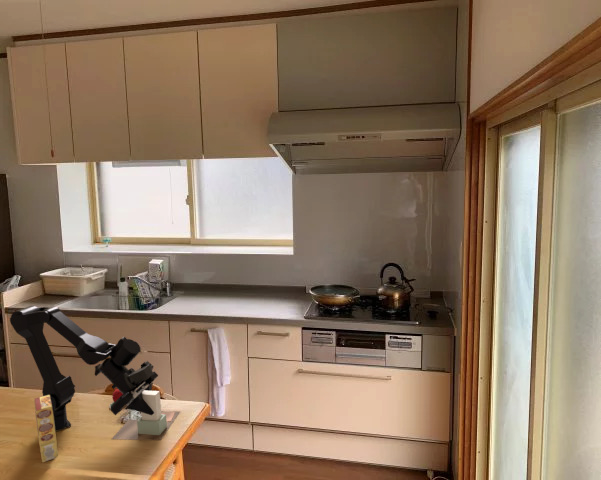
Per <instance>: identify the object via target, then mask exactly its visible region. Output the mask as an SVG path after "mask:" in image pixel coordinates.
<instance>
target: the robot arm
mask: <svg viewBox="0 0 601 480" xmlns="http://www.w3.org/2000/svg"><path fill="white" fill-rule="evenodd" d="M9 322H10V324H11V326H12V328H13V329H14V331H15V333H16V334H18V335H19V336H21V337H22V338H23V339H24V340H25V341H26V344H27V346H28V348H29V351H30V353H31V356H32V357H33V360H34V363H35V364H36V368H37V369H38V371H39V374H40V376H41V378H42V381H43V383H42V391H41V393H42V397H43V396H47V395H50V398H51V403H52V409H53V416H54V424H55V433H56V432H59V431H61V430H63V429H64V430H65V429H66V428H69V427H71V426H72V423H71V421H69V419H68V415H67V405H68V404H69V403H71V402H72V399H73V397H74V395H75V393H76V385H75V384H74V382H73V379H72V377H71V376H70V375H68V376H65V375H64V374H62V372H61V371H60V369H59V367H58V363H57V362H56V359H55V357H54V355H53V353H52V350H51V347H50V345H49V343H48V340H47V339H46V336H45V333H44V326H45V325H44V324H47V325H48V326H49V327H51V328H52V329H53V330H54V331H55V332H57V333H58V334H59V335H61V337H63V338H64V339H65V340H66V341H68V342H69V343H70V344H71V345H72V346H74V347H75V350H76V352H77V355H78V356H79V357H80V359H81V360H83V362H84V363H85V364H87V365H89V366H94V365H95V366H94V377H97V376H98V375H100V374H103V376H105V378H107V380H108V381H109V382H110V383H111V384H112V385H111V388H112V389H113V390H114V389H118V390H119V391H120V392H121V393H122V394H123V395H121V396H120V397H119V398H118V399H117V400H116V401H115V402H114V401H113V402H114V404H113V405H112V406H111V409H110V411H111V413H112V414H113V415H114V416H117V415H118V414H119V413H120V412H121V411H122V409H123V408H124V407H125V406H126V407H125V408H124V410H131V411H135V412H136V411H139V412H142V413H146V414H149V415H153V414H154V412H153V410H152V409H151V408H150V406H149V405H148V404H147V403H146V402H145V401H144V400H143V397H142V392H143V391H144V390H149V391H153V384H154V383H153V382H154V381H155V380H156V379H157V378H158V377H159V374H158V373H157V372H156V371H153V369H154V365H153V364H152V363H150V362H149V360H146V361H143V362H142V363H141V364H140V367H139V368H138V369H136V370H135V369H134V368H131V367H130V368H127V366H128V365H130V364H131V363H132V362H133V360H134V359H135V358H136V357H137V355H139V354H140V353H141V350H142V349H141V346H140V344H139V343H138V342H137V341H135V340H133V339H130V338H127V337H126V336H122V337H120V339H119V340H118V341H117V343H116V344H114V343H109V342H108V341H106V340H104V339H102V338H100V337H99V336H95V335H92V334H89V333H88V332H86V331H85V330H84V329H83V328H81V327H80V326H79V325H78V324H76V323H75V322H74V321H73V320H72V319H70V317H68V316H67V315H65V314H64V313H63V312H62V311H61V309H60V308H59V307H57V306H50V307H48V306H43V307H42V306H41V307H37V306H35V305H30V306H26V307H24V308H20V309H17V310H15V311H14V312H12V313H11V315H10V317H9ZM100 362H101V363H100ZM96 364H97V365H96Z"/></svg>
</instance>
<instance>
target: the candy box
mask: <svg viewBox="0 0 601 480" xmlns="http://www.w3.org/2000/svg"><path fill="white" fill-rule="evenodd" d="M33 400H34V410H35V423H36V429H37V437H38V443H39V445H38V446H39V452H40V456H41V457H40V458H41V462H42V463H45V462H48V461H51V460H55V459H56V458H58V456H59V454H58V442H57V435H56V432H55V424H54V416H53V409H52V403H51V398H50V395H47V396H43V395H42V396H38V397H35V398H34V399H33Z"/></svg>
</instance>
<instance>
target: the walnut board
mask: <svg viewBox="0 0 601 480" xmlns="http://www.w3.org/2000/svg"><path fill="white" fill-rule="evenodd" d="M180 413H181V411H177V410H176V411H174V410H173V411H170V410H169V411H168V410H166V411H164V410H163V411H162V410H161V414H164V415H166V422H167V427H166V429H165V430H164V431H163V432H162V433H161V434H160V435H150V434H138V428H137V421H138V420H139V419H138V420H131V419H130V418H129V419H127V421H126V422H125V423H124V424H123V425H122V426H121V427H120V429H119V430H118V431H117V432H116V434H114V435H113V436H112V438H111V440H125V441H126V440H128V441H129V440H132V441H138V440H139V441H161V440H162V439H163V438H164V436H165V434H166V433H167V432H168V430H169V429H170V428H171V426H172V425H173V423H174V422H175V420H176V419H177V418H178V416H179V415H180Z"/></svg>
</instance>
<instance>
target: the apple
mask: <svg viewBox="0 0 601 480" xmlns="http://www.w3.org/2000/svg"><path fill="white" fill-rule="evenodd" d="M121 395H123V394H122V393H121V392H120V391H119V390H118V389H117V388H115V390H114V391H113V392H112V396H111V397H112V402H111V403H110V404H109V405H108V406H109V409H110V410H111V406H112V405H113V404H114V402H115V401H116V400H117V399H118V398H119V397H120V396H121Z"/></svg>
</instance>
